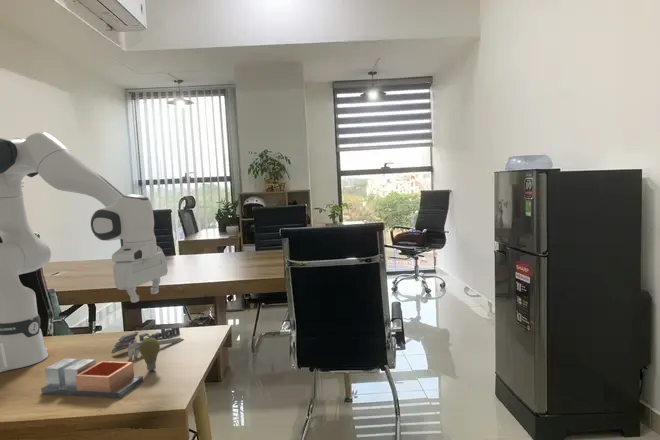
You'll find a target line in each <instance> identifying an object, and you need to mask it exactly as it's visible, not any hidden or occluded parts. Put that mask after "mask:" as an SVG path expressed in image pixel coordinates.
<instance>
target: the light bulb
mask: <svg viewBox="0 0 660 440" xmlns="http://www.w3.org/2000/svg"><path fill="white" fill-rule="evenodd" d="M145 338H146V339H144V340H143V341H142V342H141V344H140V347H139V350H140V351H139V354H140V355H141V356H142V358H143V359H144V362H145V365H146V370H147V371H149V372H154V371H155V369H157V366H156V365H157V364H156V362H157V360H158V359H157V357H158V355H159V352H160V350H161V349H160V348H161V345H160V344H159V342H158V341H157V340H156V339H155V338H151V337H150V338H149V337H145Z"/></svg>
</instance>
